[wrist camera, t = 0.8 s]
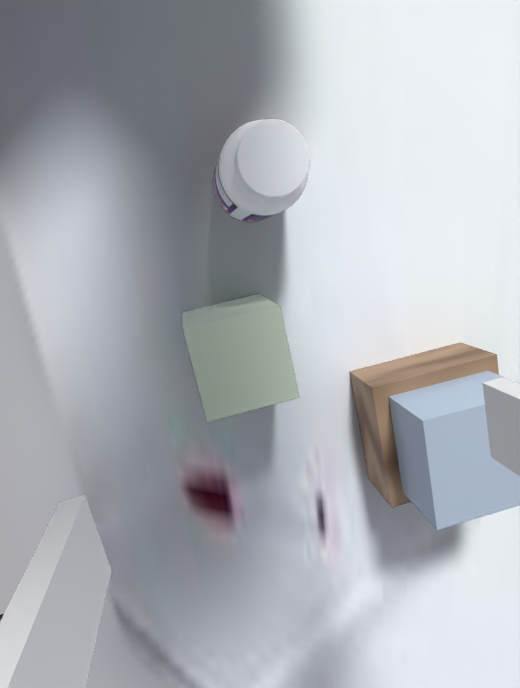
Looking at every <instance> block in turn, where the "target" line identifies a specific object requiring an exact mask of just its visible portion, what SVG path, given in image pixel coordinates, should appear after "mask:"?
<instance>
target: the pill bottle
mask: <svg viewBox="0 0 520 688" xmlns="http://www.w3.org/2000/svg"><path fill="white" fill-rule="evenodd" d="M309 166H310V153H309V148H308V145H307V142H306V140H305V138H304V137H303V135H302V134H301V133H300V131H299V130H298V129H297V128H295V127H294V126H293V125H292V124H290V123H288V122H285V121H283V120H278V119H267V120H254V121H251V122H248V123H245V124H244V125H242V126H240V127H239V128H237V129H236V130H235V131H234V132H233V133H232V134H231V135H230V136H229V138H228V139H227V141H226V142H225V144H224V146H223V148H222V150H221V153H220V156H219V159H218V162H217V165H216V168H215V171H214V176H213V188H214V193H215V196H216V199H217V201H218V203H219V204H220V206H221V207H222V208H223V210H224V211H225V212H227V213H228V214H229V215H230V216H232V217H234V218H236V219H238V220H242V221H247V222H255V221H260V220H264V219H266V218H268V217H271V216H273V215H275V214H278V213H280V212H282V211H284V210H286V209H287V208H289V207H290V206H291V205H293V204H294V203H295V202H296V201H297V200H298V198H299V197H300V196H301V194H302V192H303V190H304V188H305V186H306V183H307V179H308V172H309Z"/></svg>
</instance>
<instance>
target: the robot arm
mask: <svg viewBox="0 0 520 688" xmlns="http://www.w3.org/2000/svg"><path fill="white" fill-rule="evenodd" d="M482 385H483V393H484V402H485V411H486V419H487V428H488V437H489V445H490V454H491V458H493V459H494V460H496V461H497V462H499V463H500V464H502V465H503V466H505V467H506V468H508V469H509V470H511V471H512V472H514V473H515V474H517V475H518V476H520V383H517V382H515V381H512V380H509V379H507V378H504V377H501V378H498V379H494V380H491V381H487V382H484V383H482ZM111 572H112V570H111V567H110V565H109V562H108V559H107V556H106V553H105V550H104V547H103V544H102V541H101V538H100V535H99V533H98V530H97V527H96V524H95V521H94V518H93V515H92V512H91V509H90V506H89V504H88V501H87V498H86V495H85V494H84V495H81V496H77V497H74V498H70V499H67V500H63V501H60V502H59V504H58V506H57V508H56V510H55V512H54V514H53V516H52V518H51V520H50V522H49V524H48V526H47V528H46V530H45V532H44V534H43V536H42V538H41V540H40V542H39V544H38V546H37V548H36V550H35V552H34V554H33V556H32V558H31V561H30V562H29V564H28V566H27V568H26V570H25V572H24V574H23V577H22V579H21V581H20V583H19V585H18V587H17V589H16V591H15V593H14V595H13V597H12V599H11V601H10V603H9V605H8V607H7V609H6V611H5V613H4V614H2V615H0V688H86V685H87V680H88V676H89V671H90V667H91V662H92V658H93V653H94V649H95V644H96V640H97V635H98V631H99V626H100V621H101V617H102V613H103V608H104V604H105V599H106V595H107V590H108V586H109V581H110V577H111Z"/></svg>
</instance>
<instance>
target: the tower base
mask: <svg viewBox="0 0 520 688" xmlns="http://www.w3.org/2000/svg"><path fill="white" fill-rule="evenodd" d="M484 371H490V372H493V373H495V374H498V375H499V372H498V362H497V355H496V354H493V353H490V352H487V351H484V350H481V349H478V348H475V347H472V346H469V345H466V344H463V343H457V344H453V345H449V346H445V347H442V348H438V349H434V350H430V351H426V352H422V353H419V354H415V355H411V356H407V357H403V358H399V359H396V360H392V361H388V362H384V363H380V364H377V365H373V366H369V367H365V368H361V369H357V370H354V371H350V376H351V382H352V388H353V393H354V399H355V405H356V410H357V416H358V422H359V427H360V433H361V439H362V444H363V450H364V456H365V461H366V467H367V473H368V478H369V480H370V481H371V482H372V484H373V485H374V486H375V487H376V489H377V490H378V491H379V492H380V494H381V495H382V496H383V497H384V498H385V500H386V501H387V502H388V503H389V505H390V506H391V507H395V506H398V505H402V504H405V503H409V502H411V501H410V500H409V498H408V497H407V496H406V495H405V494H404V493H403V490H402V483H401V476H400V470H399V463H398V456H397V449H396V443H395V436H394V429H393V422H392V416H391V409H390V402H389V396H392V395H396V394H400V393H404V392H408V391H411V390H415V389H419V388H423V387H427V386H431V385H434V384H438V383H442V382H446V381H450V380H454V379H457V378H461V377H465V376H469V375H473V374H477V373H480V372H484Z"/></svg>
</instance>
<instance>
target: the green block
mask: <svg viewBox="0 0 520 688" xmlns="http://www.w3.org/2000/svg"><path fill="white" fill-rule="evenodd" d="M183 333H184V336H185V340H186V344H187V348H188V352H189V355H190V359H191V363H192V367H193V371H194V374H195V378H196V382H197V386H198V390H199V393H200V397H201V401H202V405H203V409H204V412H205V416H206V420H207V422H210V421H214V420H218V419H221V418H225V417H229V416H232V415H236V414H240V413H244V412H247V411H251V410H255V409H258V408H262V407H266V406H270V405H273V404H277V403H281V402H284V401H288V400H292V399H296V398H299V393H298V388H297V383H296V378H295V374H294V369H293V364H292V359H291V355H290V350H289V345H288V340H287V336H286V331H285V326H284V321H283V317H282V312H281V307H280V305H278V304H276V303H274V302H273V301H271V300H269V299H267V298H266V297H264V296H262V295H260V294H256V295H252V296H248V297H244V298H239V299H235V300H231V301H227V302H223V303H219V304H215V305H210V306H206V307H202V308H198V309H194V310H190V311H185V312H183Z"/></svg>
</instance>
